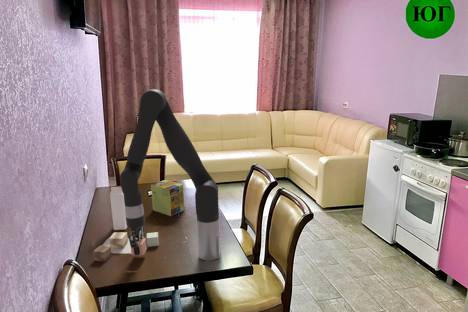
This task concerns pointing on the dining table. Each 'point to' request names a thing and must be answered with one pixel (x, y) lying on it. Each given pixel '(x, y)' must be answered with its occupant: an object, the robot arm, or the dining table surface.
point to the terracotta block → (141, 247)
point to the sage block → (152, 239)
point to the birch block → (118, 240)
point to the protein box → (167, 197)
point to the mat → (126, 249)
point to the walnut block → (102, 253)
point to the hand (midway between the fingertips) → (139, 251)
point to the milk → (118, 208)
